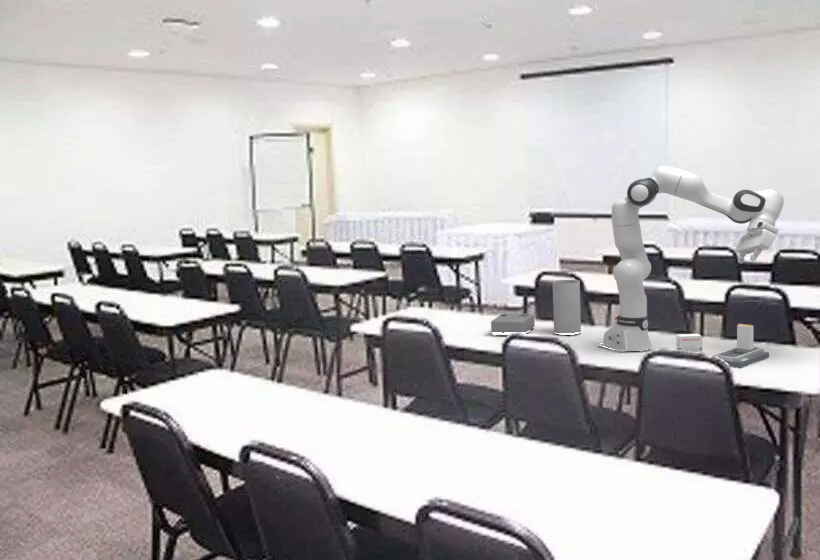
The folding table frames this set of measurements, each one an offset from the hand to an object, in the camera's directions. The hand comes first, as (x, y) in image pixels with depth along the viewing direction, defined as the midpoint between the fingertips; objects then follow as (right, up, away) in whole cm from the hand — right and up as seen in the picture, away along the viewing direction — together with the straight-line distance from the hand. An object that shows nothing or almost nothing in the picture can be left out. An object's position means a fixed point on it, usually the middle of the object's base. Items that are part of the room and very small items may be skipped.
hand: (746, 261), depth 286 cm
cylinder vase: (-55, -33, +66) cm, 92 cm away
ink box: (-23, -40, -2) cm, 46 cm away
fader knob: (+1, -35, +4) cm, 36 cm away
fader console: (-3, -38, +1) cm, 38 cm away
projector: (-80, -33, +76) cm, 115 cm away
